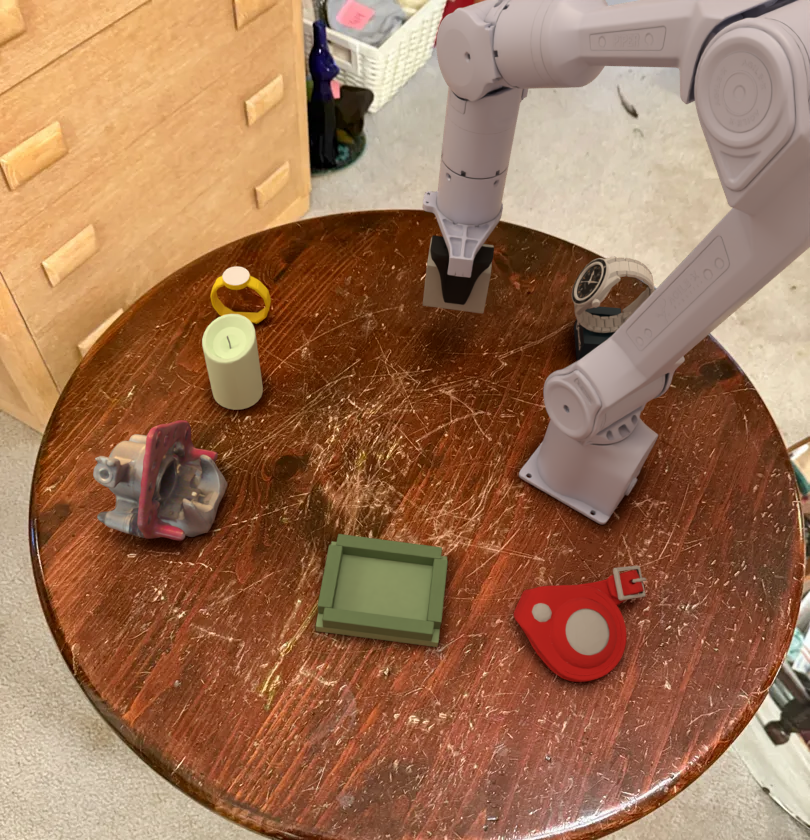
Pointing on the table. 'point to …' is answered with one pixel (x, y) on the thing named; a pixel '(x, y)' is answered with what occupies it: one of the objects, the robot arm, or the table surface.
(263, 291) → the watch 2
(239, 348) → the candle
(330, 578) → the green tray
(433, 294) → the grey beige block
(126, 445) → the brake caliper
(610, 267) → the watch
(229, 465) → the table surface
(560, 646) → the tracker holder
